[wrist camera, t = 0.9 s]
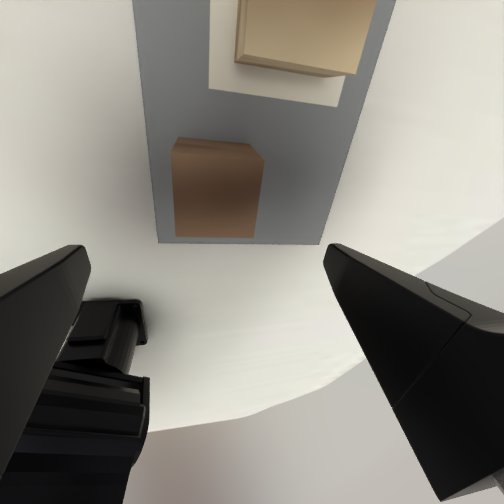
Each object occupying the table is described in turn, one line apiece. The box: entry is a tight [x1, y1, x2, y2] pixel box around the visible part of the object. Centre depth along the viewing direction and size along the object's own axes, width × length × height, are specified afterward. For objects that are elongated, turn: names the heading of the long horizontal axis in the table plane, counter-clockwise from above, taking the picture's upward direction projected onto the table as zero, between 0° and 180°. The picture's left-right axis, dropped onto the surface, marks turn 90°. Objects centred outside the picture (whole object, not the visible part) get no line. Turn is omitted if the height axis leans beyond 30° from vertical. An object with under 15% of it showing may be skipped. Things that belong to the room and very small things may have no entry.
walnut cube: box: [171, 137, 265, 238], centre depth 16 cm, size 5×5×5 cm
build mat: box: [132, 0, 396, 245], centre depth 16 cm, size 22×15×1 cm
